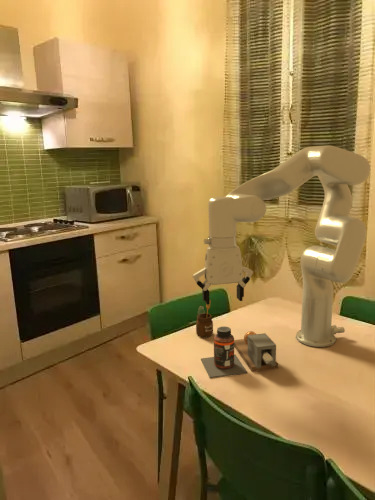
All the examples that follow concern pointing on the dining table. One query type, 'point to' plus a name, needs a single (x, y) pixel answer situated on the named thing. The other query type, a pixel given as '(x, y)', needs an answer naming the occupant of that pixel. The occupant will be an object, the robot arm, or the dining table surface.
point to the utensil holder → (204, 324)
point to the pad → (219, 372)
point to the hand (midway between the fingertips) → (223, 301)
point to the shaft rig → (256, 351)
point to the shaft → (264, 353)
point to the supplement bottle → (224, 348)
